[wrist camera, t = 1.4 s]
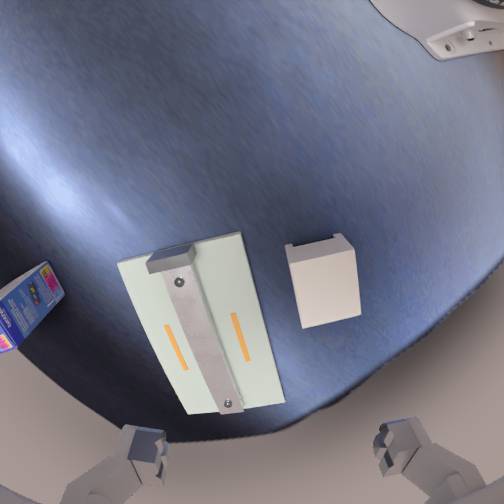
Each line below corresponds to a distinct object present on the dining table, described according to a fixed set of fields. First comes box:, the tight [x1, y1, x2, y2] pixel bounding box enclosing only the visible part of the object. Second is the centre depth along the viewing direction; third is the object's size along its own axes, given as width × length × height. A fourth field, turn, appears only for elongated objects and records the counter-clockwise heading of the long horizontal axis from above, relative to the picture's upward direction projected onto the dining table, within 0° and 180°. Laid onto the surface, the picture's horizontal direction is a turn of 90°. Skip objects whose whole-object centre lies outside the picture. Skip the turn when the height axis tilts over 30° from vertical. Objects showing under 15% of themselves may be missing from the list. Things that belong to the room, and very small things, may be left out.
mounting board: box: [117, 231, 285, 414], centre depth 36 cm, size 14×24×1 cm, turn 14°
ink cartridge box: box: [0, 261, 65, 354], centre depth 28 cm, size 10×6×14 cm, turn 112°
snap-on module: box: [285, 233, 361, 329], centre depth 31 cm, size 6×7×5 cm
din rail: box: [145, 243, 244, 414], centre depth 34 cm, size 4×23×3 cm, turn 14°
